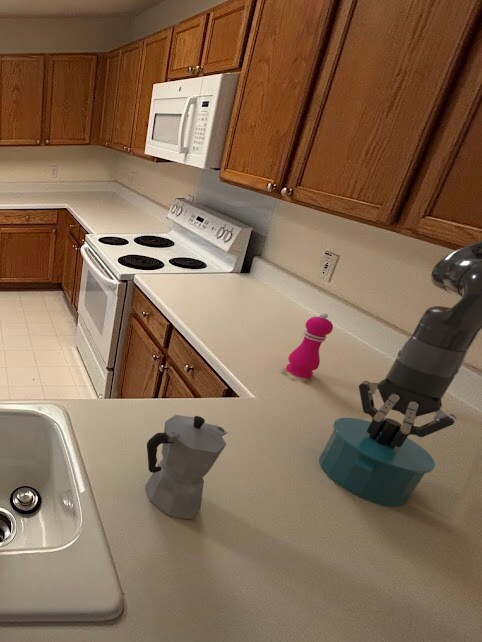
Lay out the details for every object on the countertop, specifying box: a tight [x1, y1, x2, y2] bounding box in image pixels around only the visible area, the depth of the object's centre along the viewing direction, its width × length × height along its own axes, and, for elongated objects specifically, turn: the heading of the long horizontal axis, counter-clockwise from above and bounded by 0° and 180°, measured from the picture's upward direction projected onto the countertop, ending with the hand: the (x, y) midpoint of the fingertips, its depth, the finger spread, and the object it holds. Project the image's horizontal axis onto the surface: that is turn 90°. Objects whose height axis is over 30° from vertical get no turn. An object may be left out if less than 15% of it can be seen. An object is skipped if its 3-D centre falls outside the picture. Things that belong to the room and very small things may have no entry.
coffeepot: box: [145, 414, 228, 520], centre depth 71 cm, size 15×9×18 cm, turn 105°
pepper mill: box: [285, 312, 334, 379], centre depth 118 cm, size 7×7×20 cm
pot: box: [319, 430, 426, 508], centre depth 82 cm, size 14×19×8 cm
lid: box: [332, 417, 436, 474], centre depth 79 cm, size 15×15×6 cm
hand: (382, 440), depth 80 cm, fingers closed on lid, 2 cm apart
